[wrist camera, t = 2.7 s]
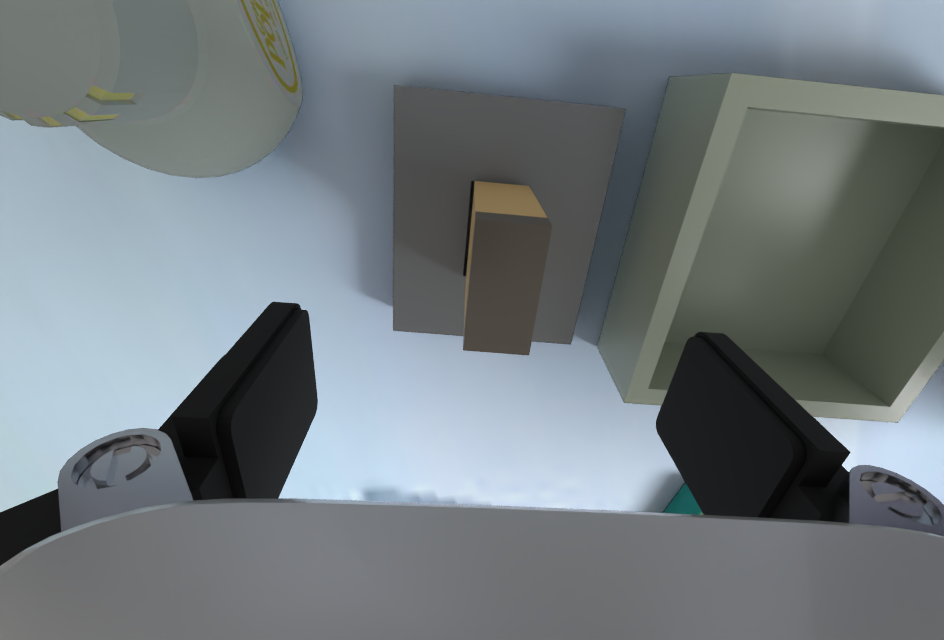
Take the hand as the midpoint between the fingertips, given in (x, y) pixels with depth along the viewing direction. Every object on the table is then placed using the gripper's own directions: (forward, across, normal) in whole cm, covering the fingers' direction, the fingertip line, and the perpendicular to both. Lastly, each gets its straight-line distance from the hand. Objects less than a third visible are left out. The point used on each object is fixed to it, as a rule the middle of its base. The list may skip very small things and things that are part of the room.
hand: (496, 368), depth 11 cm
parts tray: (+14, -16, 0) cm, 21 cm away
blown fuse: (+14, -1, 0) cm, 14 cm away
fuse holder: (+14, -1, 0) cm, 14 cm away
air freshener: (+15, +13, -7) cm, 21 cm away
